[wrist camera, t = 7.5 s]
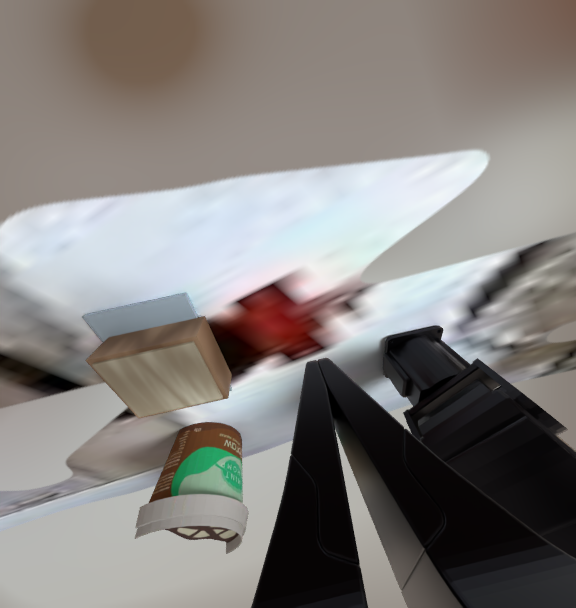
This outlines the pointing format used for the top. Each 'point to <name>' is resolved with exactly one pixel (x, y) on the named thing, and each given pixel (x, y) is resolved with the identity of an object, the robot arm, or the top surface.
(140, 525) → the food container
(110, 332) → the board
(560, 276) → the top surface
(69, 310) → the top surface
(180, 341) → the wooden block
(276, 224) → the top surface
